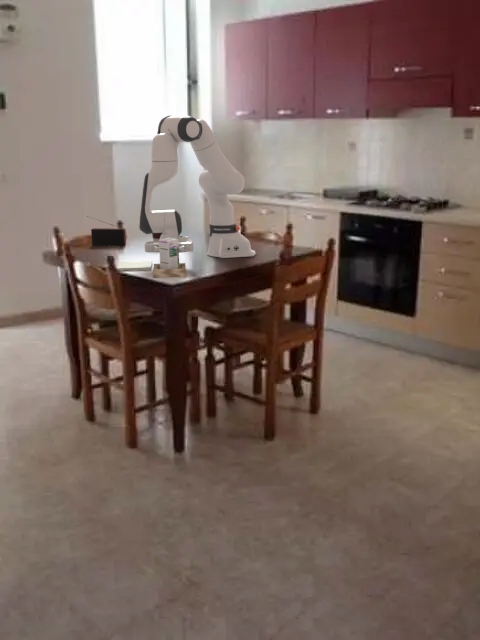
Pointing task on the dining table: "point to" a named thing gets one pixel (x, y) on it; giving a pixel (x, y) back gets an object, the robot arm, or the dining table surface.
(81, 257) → the dining table surface
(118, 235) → the radio
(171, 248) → the syrup box
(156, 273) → the birch holder
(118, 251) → the dining table surface
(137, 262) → the sage mat
